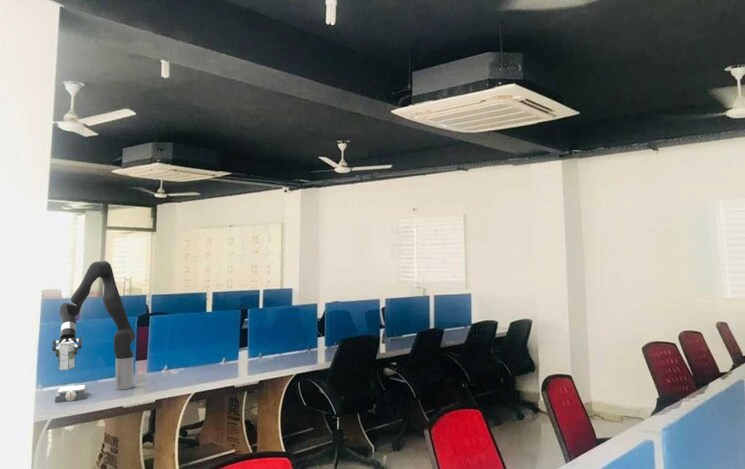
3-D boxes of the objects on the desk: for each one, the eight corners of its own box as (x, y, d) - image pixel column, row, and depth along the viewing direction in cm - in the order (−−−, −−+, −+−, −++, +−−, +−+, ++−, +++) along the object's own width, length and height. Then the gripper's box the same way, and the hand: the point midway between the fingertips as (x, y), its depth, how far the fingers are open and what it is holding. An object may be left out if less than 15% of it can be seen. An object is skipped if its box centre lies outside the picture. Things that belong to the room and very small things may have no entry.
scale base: (58, 396, 290) (58, 387, 291) (87, 393, 296) (87, 384, 297) (55, 402, 277) (55, 393, 277) (85, 399, 283) (85, 389, 283)
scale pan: (60, 388, 290) (60, 387, 290) (85, 386, 295) (85, 384, 295) (57, 393, 279) (57, 391, 279) (83, 390, 285) (83, 388, 285)
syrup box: (65, 367, 297) (65, 341, 297) (75, 367, 296) (74, 341, 297) (58, 370, 291) (57, 343, 292) (68, 369, 290) (67, 342, 291)
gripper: (52, 328, 298) (50, 352, 287) (82, 326, 304) (80, 349, 293) (54, 337, 303) (52, 361, 292) (83, 334, 309) (81, 357, 298)
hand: (66, 355), depth 293 cm, fingers closed on syrup box, 8 cm apart
